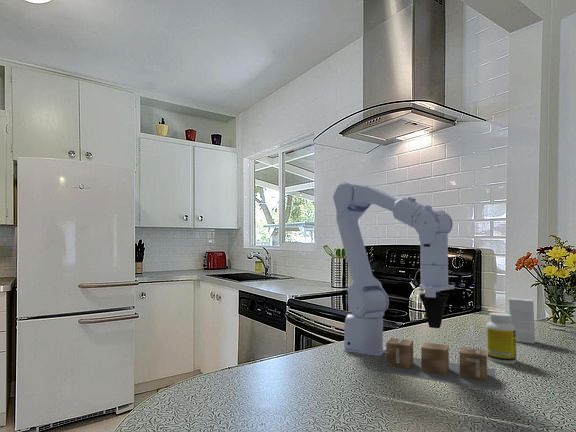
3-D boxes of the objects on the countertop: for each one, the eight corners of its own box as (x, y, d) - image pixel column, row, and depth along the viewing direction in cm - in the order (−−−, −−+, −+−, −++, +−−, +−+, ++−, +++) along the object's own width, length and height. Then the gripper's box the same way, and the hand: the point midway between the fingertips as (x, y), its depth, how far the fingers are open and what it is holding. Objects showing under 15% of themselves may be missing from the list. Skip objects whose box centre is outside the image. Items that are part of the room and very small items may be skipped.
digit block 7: (459, 377, 78) (459, 351, 79) (461, 370, 83) (460, 346, 83) (487, 382, 76) (486, 355, 76) (487, 374, 80) (486, 349, 81)
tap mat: (374, 371, 82) (374, 370, 82) (389, 355, 94) (389, 353, 94) (496, 392, 71) (496, 390, 71) (495, 370, 84) (495, 369, 84)
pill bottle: (520, 366, 87) (519, 317, 88) (491, 364, 89) (490, 315, 89) (510, 358, 93) (509, 312, 94) (483, 356, 95) (482, 311, 95)
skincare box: (534, 341, 110) (533, 299, 111) (535, 344, 107) (533, 301, 108) (510, 338, 114) (509, 297, 115) (509, 341, 110) (508, 299, 111)
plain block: (421, 371, 82) (421, 347, 82) (424, 364, 86) (424, 342, 87) (446, 375, 80) (446, 350, 80) (448, 368, 84) (448, 345, 84)
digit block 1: (386, 365, 85) (386, 342, 86) (391, 359, 90) (391, 337, 90) (409, 369, 83) (409, 345, 83) (413, 363, 87) (413, 340, 88)
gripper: (450, 267, 76) (451, 336, 75) (456, 263, 89) (457, 323, 88) (414, 265, 79) (414, 332, 79) (424, 262, 92) (424, 319, 91)
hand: (434, 327), depth 84 cm, fingers closed
